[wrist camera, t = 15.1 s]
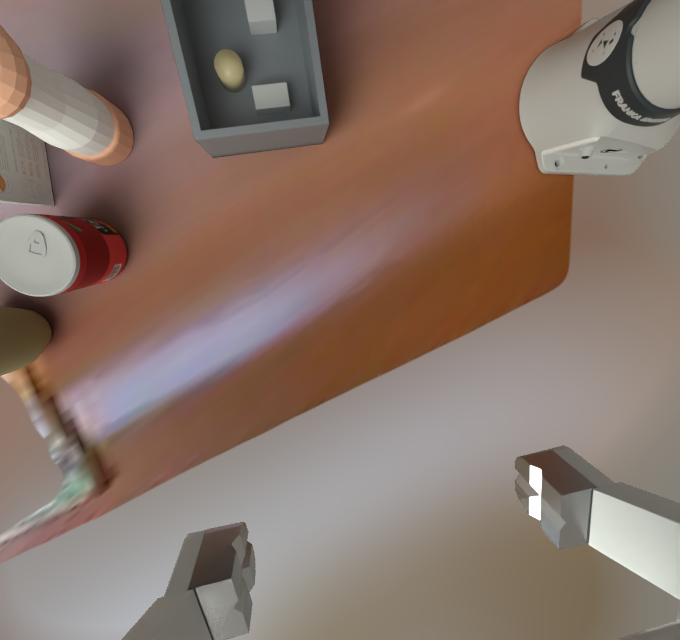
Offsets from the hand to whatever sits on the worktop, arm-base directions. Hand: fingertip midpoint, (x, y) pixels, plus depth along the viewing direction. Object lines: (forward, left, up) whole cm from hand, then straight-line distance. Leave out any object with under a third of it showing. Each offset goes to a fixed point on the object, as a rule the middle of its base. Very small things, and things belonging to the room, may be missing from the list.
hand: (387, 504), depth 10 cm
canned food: (+28, 0, -39) cm, 48 cm away
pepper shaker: (+28, -14, -39) cm, 50 cm away
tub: (+12, -26, -39) cm, 48 cm away
